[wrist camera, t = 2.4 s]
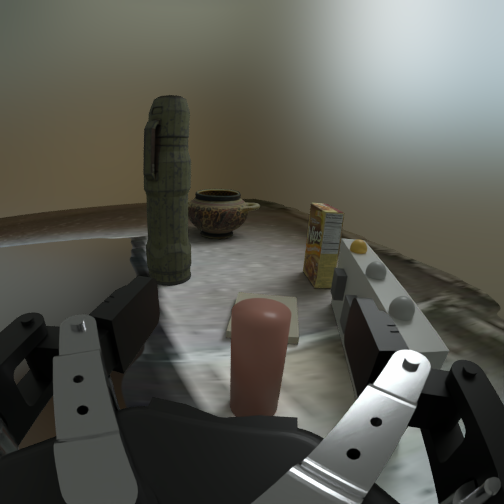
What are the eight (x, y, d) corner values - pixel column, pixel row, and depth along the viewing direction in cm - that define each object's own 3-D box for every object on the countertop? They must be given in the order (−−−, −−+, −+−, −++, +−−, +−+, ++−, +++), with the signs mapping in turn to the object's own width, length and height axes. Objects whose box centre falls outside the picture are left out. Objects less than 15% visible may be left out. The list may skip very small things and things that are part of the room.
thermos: (136, 284, 53) (132, 95, 42) (164, 263, 64) (164, 103, 53) (176, 292, 52) (176, 89, 40) (200, 268, 63) (204, 100, 51)
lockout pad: (295, 303, 50) (296, 297, 50) (297, 344, 39) (299, 337, 39) (238, 298, 51) (238, 292, 51) (226, 337, 40) (226, 330, 39)
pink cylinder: (277, 391, 30) (291, 300, 26) (276, 424, 26) (292, 331, 22) (233, 387, 31) (236, 295, 27) (226, 419, 26) (226, 325, 22)
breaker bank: (352, 304, 50) (365, 230, 46) (399, 439, 22) (456, 332, 18) (322, 302, 51) (334, 227, 46) (350, 444, 23) (398, 334, 18)
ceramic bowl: (171, 246, 84) (164, 199, 75) (189, 218, 98) (186, 177, 90) (254, 254, 81) (256, 204, 73) (261, 224, 96) (263, 180, 88)
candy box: (301, 271, 64) (309, 202, 59) (319, 271, 65) (328, 203, 60) (314, 289, 56) (324, 211, 51) (334, 288, 56) (345, 212, 51)
